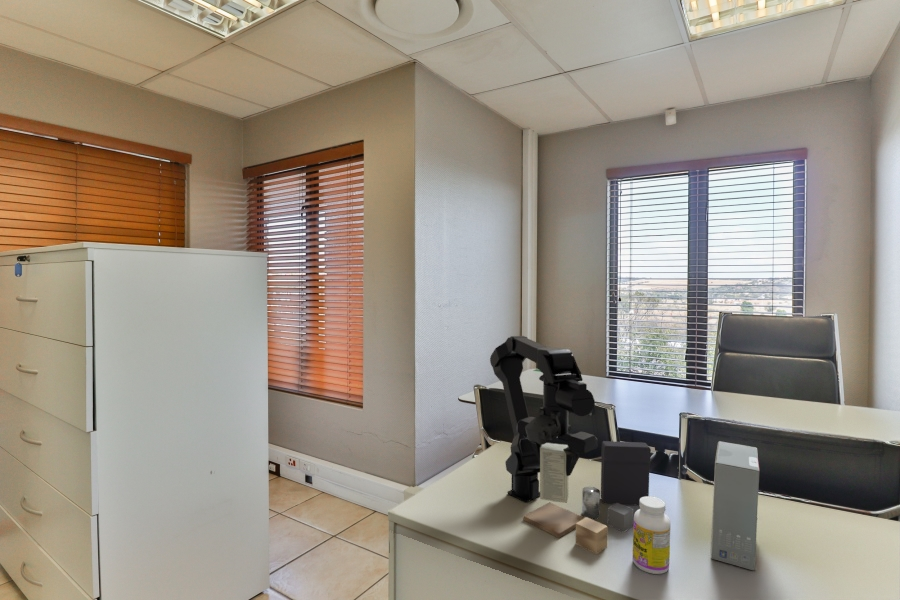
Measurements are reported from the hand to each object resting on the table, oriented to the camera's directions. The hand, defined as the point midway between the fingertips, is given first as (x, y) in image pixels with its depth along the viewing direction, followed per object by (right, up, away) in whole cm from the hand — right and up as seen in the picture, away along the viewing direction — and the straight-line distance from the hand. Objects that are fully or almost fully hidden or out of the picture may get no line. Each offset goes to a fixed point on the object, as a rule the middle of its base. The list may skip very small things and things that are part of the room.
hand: (554, 470), depth 108 cm
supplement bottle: (+15, -13, -16) cm, 26 cm away
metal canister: (+9, -12, +3) cm, 16 cm away
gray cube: (+15, -12, -1) cm, 19 cm away
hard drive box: (+35, -13, -10) cm, 39 cm away
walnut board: (0, -12, 0) cm, 12 cm away
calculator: (+20, -12, +10) cm, 25 cm away
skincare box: (0, -7, 0) cm, 7 cm away
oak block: (+6, -13, -9) cm, 17 cm away
